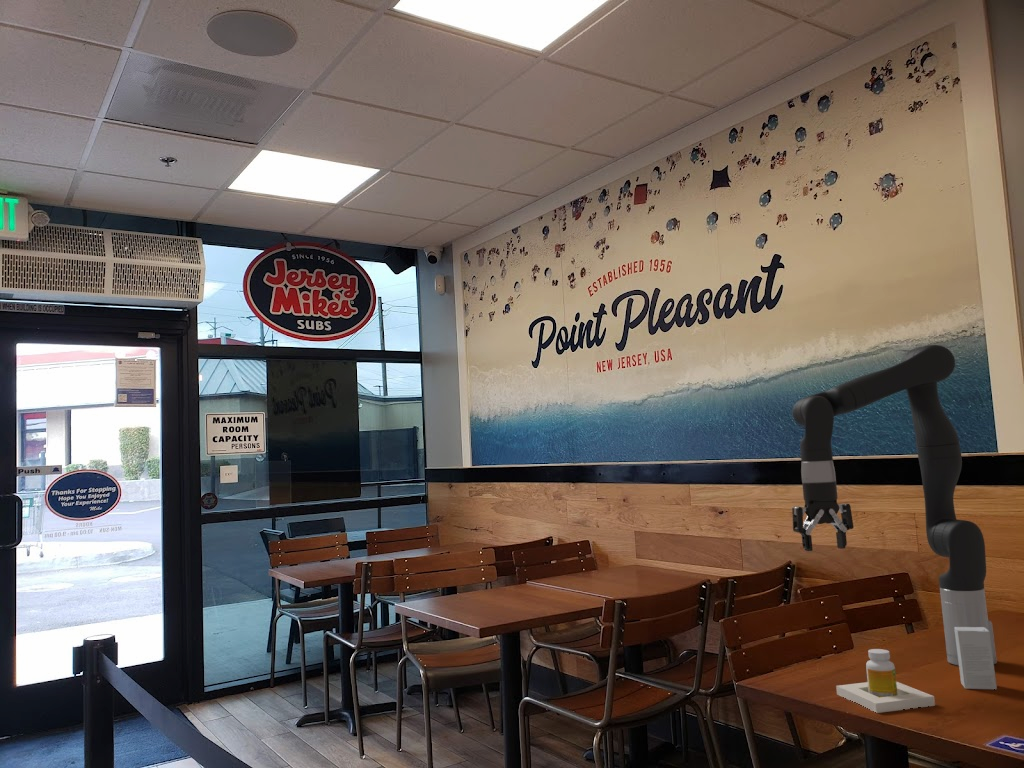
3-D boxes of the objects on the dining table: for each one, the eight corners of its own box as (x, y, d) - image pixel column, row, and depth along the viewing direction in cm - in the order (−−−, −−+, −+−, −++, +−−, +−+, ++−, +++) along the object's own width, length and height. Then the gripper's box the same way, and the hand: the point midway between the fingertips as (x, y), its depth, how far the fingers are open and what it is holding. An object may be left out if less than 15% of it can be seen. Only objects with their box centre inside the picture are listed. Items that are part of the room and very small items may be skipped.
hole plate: (891, 688, 167) (890, 679, 167) (935, 705, 154) (934, 696, 154) (837, 694, 164) (836, 685, 164) (876, 713, 152) (875, 703, 152)
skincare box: (992, 684, 166) (985, 626, 167) (997, 690, 161) (990, 631, 163) (959, 683, 167) (953, 626, 169) (964, 689, 163) (957, 630, 165)
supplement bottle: (901, 704, 156) (896, 654, 157) (872, 703, 157) (868, 654, 158) (894, 695, 161) (889, 647, 162) (866, 695, 162) (861, 647, 164)
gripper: (800, 482, 180) (806, 553, 178) (855, 478, 183) (862, 549, 181) (783, 481, 187) (789, 550, 185) (836, 478, 190) (842, 546, 188)
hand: (825, 549), depth 183 cm, fingers open, 8 cm apart
